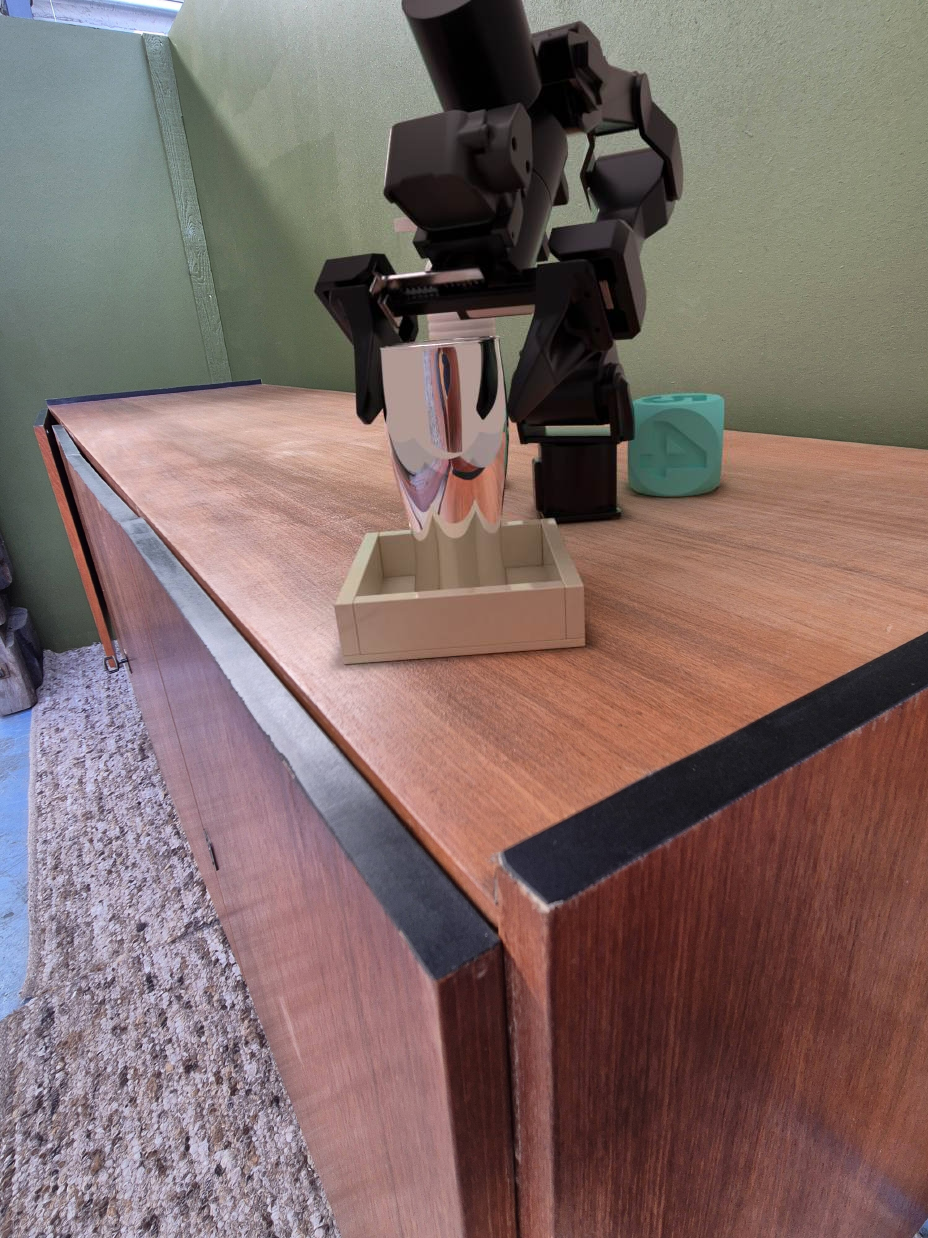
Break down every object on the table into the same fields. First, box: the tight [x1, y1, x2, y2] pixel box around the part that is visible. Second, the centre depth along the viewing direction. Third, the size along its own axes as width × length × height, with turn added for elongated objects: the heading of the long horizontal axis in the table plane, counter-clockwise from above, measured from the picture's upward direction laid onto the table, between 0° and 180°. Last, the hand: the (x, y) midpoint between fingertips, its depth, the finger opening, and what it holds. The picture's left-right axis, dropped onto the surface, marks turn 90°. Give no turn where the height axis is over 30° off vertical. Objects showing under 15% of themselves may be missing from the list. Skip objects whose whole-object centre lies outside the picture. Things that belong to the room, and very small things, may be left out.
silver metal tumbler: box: [379, 335, 510, 592], centre depth 41 cm, size 7×7×15 cm
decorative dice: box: [627, 392, 725, 498], centre depth 66 cm, size 8×8×8 cm
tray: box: [333, 518, 586, 665], centre depth 43 cm, size 13×13×4 cm
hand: (433, 419), depth 38 cm, fingers open, 9 cm apart
